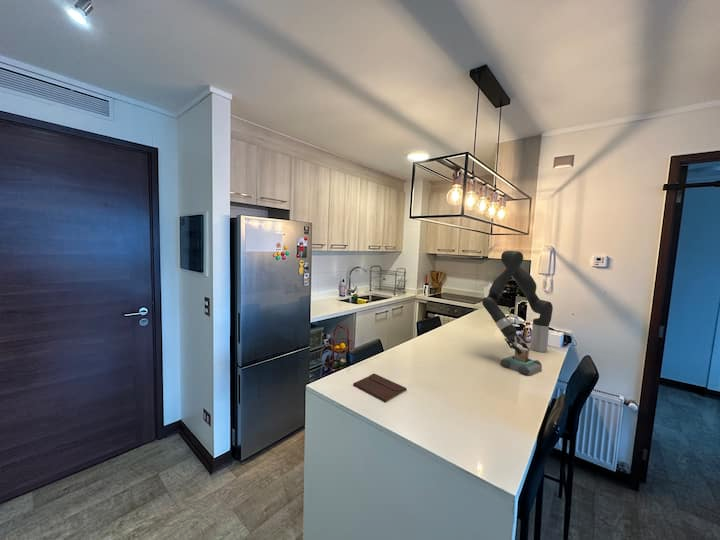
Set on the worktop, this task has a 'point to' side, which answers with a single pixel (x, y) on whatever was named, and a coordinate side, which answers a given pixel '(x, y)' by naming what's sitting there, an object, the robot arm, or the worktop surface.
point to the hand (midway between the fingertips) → (524, 352)
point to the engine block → (522, 355)
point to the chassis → (522, 365)
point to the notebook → (380, 387)
